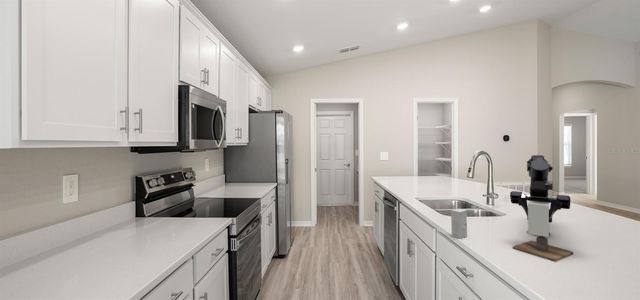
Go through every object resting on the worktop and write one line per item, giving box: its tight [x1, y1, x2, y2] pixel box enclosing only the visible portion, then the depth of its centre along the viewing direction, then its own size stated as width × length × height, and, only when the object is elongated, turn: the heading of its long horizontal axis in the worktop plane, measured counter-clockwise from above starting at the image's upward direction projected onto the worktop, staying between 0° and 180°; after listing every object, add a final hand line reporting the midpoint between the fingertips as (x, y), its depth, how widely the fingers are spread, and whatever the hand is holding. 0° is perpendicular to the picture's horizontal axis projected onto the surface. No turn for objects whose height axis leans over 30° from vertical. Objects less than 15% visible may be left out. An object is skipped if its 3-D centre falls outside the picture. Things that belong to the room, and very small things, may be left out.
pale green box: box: [527, 201, 550, 238], centre depth 105 cm, size 6×6×12 cm
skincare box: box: [450, 208, 468, 239], centre depth 124 cm, size 6×4×12 cm
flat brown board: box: [512, 235, 574, 262], centre depth 105 cm, size 14×14×5 cm
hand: (538, 217), depth 104 cm, fingers closed on pale green box, 6 cm apart
